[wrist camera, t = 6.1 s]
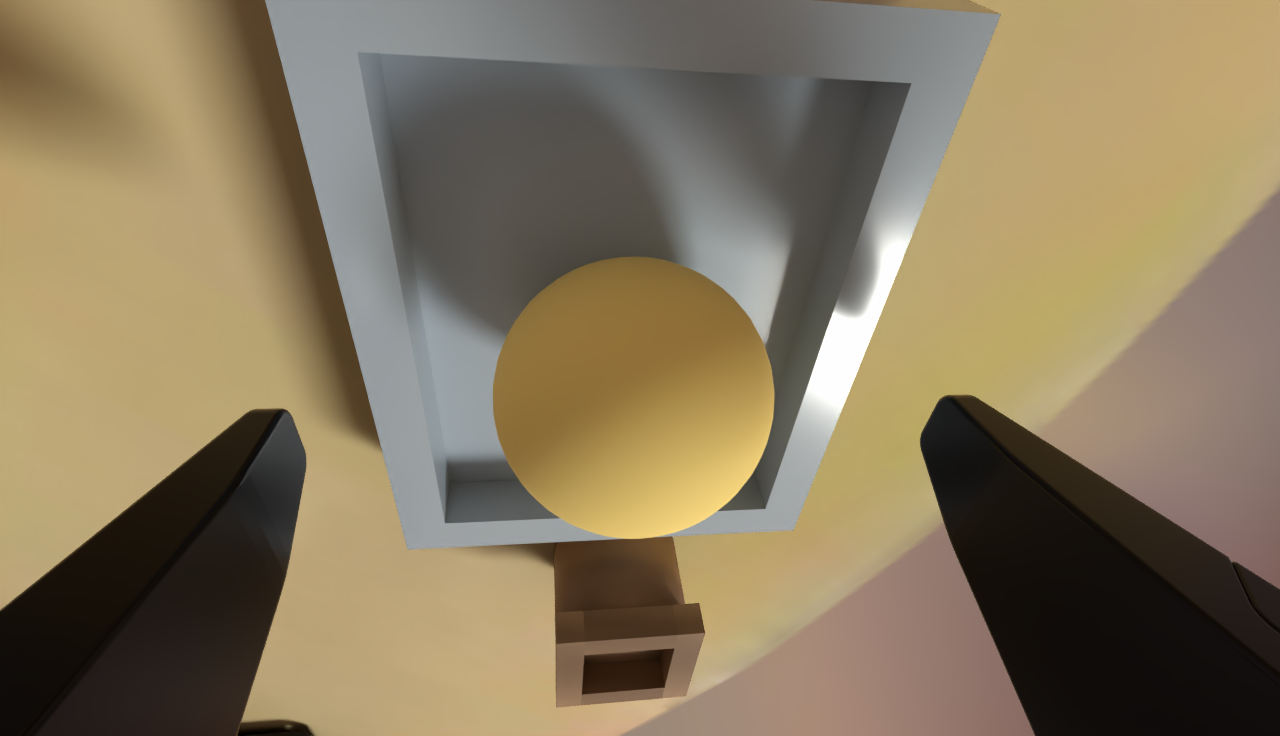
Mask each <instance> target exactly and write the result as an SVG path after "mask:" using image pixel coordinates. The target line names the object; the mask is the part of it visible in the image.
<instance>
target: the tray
mask: <svg viewBox="0 0 1280 736" xmlns="http://www.w3.org/2000/svg"><path fill="white" fill-rule="evenodd" d="M265 2H266V6H267V9H268V13H269V17H270V21H271V25H272V29H273V33H274V36H275V40H276V44H277V48H278V52H279V56H280V60H281V63H282V67H283V71H284V75H285V79H286V83H287V87H288V90H289V94H290V98H291V102H292V106H293V110H294V113H295V117H296V121H297V125H298V129H299V133H300V137H301V140H302V144H303V148H304V152H305V156H306V160H307V164H308V167H309V171H310V175H311V179H312V183H313V187H314V191H315V194H316V198H317V202H318V206H319V210H320V214H321V217H322V221H323V225H324V229H325V233H326V237H327V241H328V244H329V248H330V252H331V256H332V260H333V264H334V268H335V271H336V275H337V279H338V283H339V287H340V291H341V295H342V298H343V302H344V306H345V310H346V314H347V318H348V321H349V325H350V329H351V333H352V337H353V341H354V345H355V348H356V352H357V356H358V360H359V364H360V368H361V372H362V375H363V379H364V383H365V387H366V391H367V395H368V399H369V402H370V406H371V410H372V414H373V418H374V422H375V425H376V429H377V433H378V437H379V441H380V445H381V449H382V452H383V456H384V460H385V464H386V468H387V472H388V476H389V479H390V483H391V487H392V491H393V495H394V499H395V503H396V506H397V510H398V514H399V518H400V522H401V526H402V529H403V533H404V537H405V541H406V545H407V549H408V550H411V549H431V548H451V547H470V546H490V545H510V544H530V543H550V542H570V541H590V540H609V539H624V538H614V537H607V536H603V535H599V534H595V533H592V532H589V531H586V530H583V529H581V528H578V527H576V526H574V525H571V524H569V523H567V522H566V521H564V520H563V519H561V518H559V517H558V516H556V515H555V514H553V513H552V512H550V511H549V510H547V509H546V508H545V507H544V506H543V505H541V504H540V503H539V502H538V501H537V500H536V499H535V498H534V497H533V496H532V495H531V494H530V493H529V492H528V491H527V490H526V488H525V487H524V486H523V485H522V484H521V482H520V481H519V479H518V478H517V476H516V475H515V473H514V472H513V470H512V468H511V467H510V465H509V463H508V461H507V459H506V457H505V454H504V452H503V449H502V447H501V444H500V442H499V439H498V435H497V430H496V426H495V420H494V415H493V382H494V376H495V371H496V365H497V360H498V357H499V354H500V352H501V349H502V346H503V344H504V341H505V339H506V336H507V334H508V333H509V331H510V329H511V327H512V325H513V324H514V322H515V321H516V319H517V318H518V316H519V315H520V314H521V312H522V311H523V310H524V309H525V307H526V306H527V305H528V303H529V302H530V301H531V300H532V299H533V298H534V297H535V296H536V295H537V294H539V293H540V292H541V291H542V290H543V289H545V288H546V287H547V286H549V285H550V284H551V283H553V282H554V281H555V280H557V279H558V278H560V277H561V276H563V275H565V274H567V273H569V272H570V271H572V270H574V269H577V268H579V267H582V266H584V265H587V264H590V263H593V262H597V261H600V260H605V259H611V258H617V257H633V256H636V257H651V258H656V259H662V260H667V261H670V262H673V263H676V264H679V265H682V266H685V267H688V268H690V269H692V270H694V271H696V272H699V273H701V274H702V275H704V276H705V277H707V278H709V279H710V280H712V281H713V282H715V283H716V284H717V285H719V286H720V287H722V288H723V289H724V290H725V291H726V292H727V293H728V294H730V295H731V296H732V297H733V298H734V299H735V300H736V302H737V303H738V304H739V305H740V306H741V307H742V309H743V310H744V311H745V312H746V314H747V315H748V316H749V317H750V319H751V321H752V322H753V324H754V326H755V328H756V330H757V331H758V333H759V335H760V337H761V339H762V340H763V343H764V346H765V349H766V352H767V355H768V358H769V361H770V364H771V369H772V376H773V384H774V412H773V421H772V426H771V430H770V434H769V438H768V441H767V444H766V447H765V450H764V452H763V454H762V457H761V459H760V461H759V463H758V465H757V466H756V468H755V470H754V472H753V473H752V475H751V476H750V478H749V479H748V480H747V482H746V483H745V484H744V485H743V487H742V488H741V489H740V490H739V492H738V493H737V494H736V495H735V496H734V497H733V498H732V499H731V500H730V501H729V502H728V503H727V504H725V505H724V506H723V507H722V508H720V509H719V510H718V511H717V512H715V513H714V514H713V515H711V516H709V517H708V518H706V519H705V520H703V521H701V522H699V523H697V524H696V525H693V526H691V527H689V528H686V529H684V530H681V531H678V532H675V533H671V534H667V535H663V536H658V537H669V536H689V535H709V534H729V533H748V532H768V531H788V530H794V527H795V525H796V522H797V520H798V517H799V515H800V512H801V510H802V507H803V505H804V502H805V500H806V497H807V495H808V492H809V490H810V487H811V485H812V482H813V480H814V477H815V475H816V473H817V470H818V468H819V465H820V463H821V460H822V458H823V455H824V453H825V450H826V448H827V445H828V443H829V440H830V438H831V435H832V433H833V430H834V428H835V425H836V423H837V420H838V418H839V415H840V413H841V410H842V408H843V405H844V403H845V400H846V398H847V395H848V393H849V391H850V388H851V386H852V383H853V381H854V378H855V376H856V373H857V371H858V368H859V366H860V363H861V361H862V358H863V356H864V353H865V351H866V348H867V346H868V343H869V341H870V338H871V336H872V333H873V331H874V328H875V326H876V323H877V321H878V318H879V316H880V313H881V311H882V309H883V306H884V304H885V301H886V299H887V296H888V294H889V291H890V289H891V286H892V284H893V281H894V279H895V276H896V274H897V271H898V269H899V266H900V264H901V261H902V259H903V256H904V254H905V251H906V249H907V246H908V244H909V241H910V239H911V236H912V234H913V231H914V229H915V227H916V224H917V222H918V219H919V217H920V214H921V212H922V209H923V207H924V204H925V202H926V199H927V197H928V194H929V192H930V189H931V187H932V184H933V182H934V179H935V177H936V174H937V172H938V169H939V167H940V164H941V162H942V159H943V157H944V154H945V152H946V149H947V147H948V144H949V142H950V140H951V137H952V135H953V132H954V130H955V127H956V125H957V122H958V120H959V117H960V115H961V112H962V110H963V107H964V105H965V102H966V100H967V97H968V95H969V92H970V90H971V87H972V85H973V82H974V80H975V77H976V75H977V72H978V70H979V67H980V65H981V62H982V60H983V58H984V55H985V53H986V50H987V48H988V45H989V43H990V40H991V38H992V35H993V33H994V30H995V28H996V25H997V23H998V20H999V18H1000V15H1001V14H999V13H997V12H994V11H992V10H990V9H988V8H985V7H983V6H981V5H979V4H976V3H974V2H972V1H970V0H265Z"/></svg>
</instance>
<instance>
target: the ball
mask: <svg viewBox="0 0 1280 736" xmlns="http://www.w3.org/2000/svg"><path fill="white" fill-rule="evenodd" d="M773 412H774V384H773V376H772V369H771V364H770V361H769V358H768V355H767V352H766V349H765V346H764V343H763V340H762V339H761V337H760V335H759V333H758V331H757V330H756V328H755V326H754V324H753V322H752V321H751V319H750V317H749V316H748V315H747V314H746V312H745V311H744V310H743V309H742V307H741V306H740V305H739V304H738V303H737V302H736V300H735V299H734V298H733V297H732V296H731V295H730V294H728V293H727V292H726V291H725V290H724V289H723V288H722V287H720V286H719V285H717V284H716V283H715V282H713V281H712V280H710V279H709V278H707V277H705V276H704V275H702V274H701V273H699V272H696V271H694V270H692V269H690V268H688V267H685V266H682V265H679V264H676V263H673V262H670V261H667V260H662V259H656V258H651V257H636V256H633V257H617V258H611V259H605V260H600V261H597V262H593V263H590V264H587V265H584V266H582V267H579V268H577V269H574V270H572V271H570V272H569V273H567V274H565V275H563V276H561V277H560V278H558V279H557V280H555V281H554V282H553V283H551V284H550V285H549V286H547V287H546V288H545V289H543V290H542V291H541V292H540V293H539V294H537V295H536V296H535V297H534V298H533V299H532V300H531V301H530V302H529V303H528V305H527V306H526V307H525V309H524V310H523V311H522V312H521V314H520V315H519V316H518V318H517V319H516V321H515V322H514V324H513V325H512V327H511V329H510V331H509V333H508V334H507V336H506V339H505V341H504V344H503V346H502V349H501V352H500V354H499V357H498V360H497V365H496V371H495V376H494V382H493V415H494V420H495V426H496V430H497V435H498V439H499V442H500V444H501V447H502V449H503V452H504V454H505V457H506V459H507V461H508V463H509V465H510V467H511V468H512V470H513V472H514V473H515V475H516V476H517V478H518V479H519V481H520V482H521V484H522V485H523V486H524V487H525V488H526V490H527V491H528V492H529V493H530V494H531V495H532V496H533V497H534V498H535V499H536V500H537V501H538V502H539V503H540V504H541V505H543V506H544V507H545V508H546V509H547V510H549V511H550V512H552V513H553V514H555V515H556V516H558V517H559V518H561V519H563V520H564V521H566V522H567V523H569V524H571V525H574V526H576V527H578V528H581V529H583V530H586V531H589V532H592V533H595V534H599V535H603V536H607V537H614V538H624V539H641V538H652V537H658V536H663V535H667V534H671V533H675V532H678V531H681V530H684V529H686V528H689V527H691V526H693V525H696V524H697V523H699V522H701V521H703V520H705V519H706V518H708V517H709V516H711V515H713V514H714V513H715V512H717V511H718V510H719V509H720V508H722V507H723V506H724V505H725V504H727V503H728V502H729V501H730V500H731V499H732V498H733V497H734V496H735V495H736V494H737V493H738V492H739V490H740V489H741V488H742V487H743V485H744V484H745V483H746V482H747V480H748V479H749V478H750V476H751V475H752V473H753V472H754V470H755V468H756V466H757V465H758V463H759V461H760V459H761V457H762V454H763V452H764V450H765V447H766V444H767V441H768V438H769V434H770V430H771V426H772V421H773Z"/></svg>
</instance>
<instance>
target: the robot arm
mask: <svg viewBox="0 0 1280 736" xmlns="http://www.w3.org/2000/svg"><path fill="white" fill-rule="evenodd" d="M920 446H921V451H922V454H923V457H924V461H925V464H926V467H927V470H928V473H929V476H930V480H931V483H932V486H933V489H934V492H935V495H936V499H937V502H938V505H939V508H940V511H941V514H942V518H943V521H944V524H945V527H946V530H947V532H948V535H949V538H950V541H951V543H952V545H953V548H954V551H955V553H956V556H957V558H958V560H959V563H960V565H961V567H962V569H963V572H964V574H965V576H966V579H967V581H968V583H969V586H970V588H971V590H972V592H973V595H974V597H975V599H976V602H977V604H978V606H979V609H980V611H981V613H982V615H983V617H984V620H985V622H986V625H987V627H988V629H989V631H990V634H991V636H992V638H993V641H994V643H995V645H996V647H997V650H998V652H999V654H1000V656H1001V659H1002V661H1003V663H1004V666H1005V668H1006V670H1007V673H1008V675H1009V677H1010V679H1011V682H1012V684H1013V686H1014V689H1015V691H1016V693H1017V696H1018V698H1019V700H1020V702H1021V705H1022V707H1023V709H1024V712H1025V714H1026V716H1027V719H1028V721H1029V723H1030V725H1031V728H1032V730H1033V732H1034V735H1035V736H1280V589H1278V588H1277V587H1275V586H1274V585H1272V584H1270V583H1268V582H1267V581H1265V580H1264V579H1262V578H1261V577H1259V576H1258V575H1256V574H1255V573H1253V572H1251V571H1250V570H1248V569H1247V568H1245V567H1243V566H1242V565H1240V564H1239V563H1237V562H1231V560H1230V559H1229V557H1227V556H1226V555H1224V554H1223V553H1221V552H1220V551H1218V550H1216V549H1215V548H1213V547H1212V546H1210V545H1209V544H1207V543H1205V542H1204V541H1202V540H1201V539H1199V538H1197V537H1196V536H1194V535H1193V534H1191V533H1190V532H1188V531H1186V530H1185V529H1183V528H1182V527H1180V526H1178V525H1177V524H1175V523H1173V522H1172V521H1171V520H1169V519H1167V518H1166V517H1164V516H1163V515H1161V514H1160V513H1158V512H1156V511H1155V510H1153V509H1152V508H1150V507H1148V506H1147V505H1145V504H1144V503H1142V502H1141V501H1139V500H1137V499H1136V498H1134V497H1133V496H1131V495H1130V494H1128V493H1126V492H1125V491H1123V490H1122V489H1120V488H1118V487H1117V486H1115V485H1114V484H1112V483H1111V482H1109V481H1107V480H1106V479H1104V478H1103V477H1101V476H1099V475H1098V474H1096V473H1094V472H1093V471H1091V470H1090V469H1088V468H1087V467H1085V466H1084V465H1082V464H1080V463H1079V462H1077V461H1076V460H1074V459H1072V458H1071V457H1069V456H1068V455H1066V454H1065V453H1063V452H1061V451H1060V450H1058V449H1057V448H1055V447H1054V446H1052V445H1050V444H1049V443H1047V442H1046V441H1044V440H1042V439H1041V438H1039V437H1038V436H1036V435H1035V434H1033V433H1032V432H1030V431H1028V430H1027V429H1025V428H1024V427H1022V426H1020V425H1019V424H1017V423H1016V422H1014V421H1013V420H1011V419H1009V418H1008V417H1006V416H1005V415H1003V414H1002V413H1000V412H998V411H997V410H995V409H994V408H992V407H990V406H989V405H987V404H986V403H984V402H983V401H981V400H979V399H978V398H976V397H974V396H971V395H947V396H944V397H942V398H941V399H940V400H939V401H938V403H937V405H936V406H935V408H934V410H933V412H932V414H931V416H930V418H929V420H928V422H927V423H926V425H925V427H924V429H923V431H922V433H921V438H920ZM305 472H306V453H305V450H304V447H303V444H302V442H301V439H300V436H299V434H298V431H297V428H296V426H295V423H294V420H293V418H292V416H291V414H290V413H289V412H288V411H287V410H285V409H254V410H251V411H249V412H247V413H246V414H245V415H243V416H242V417H241V418H240V419H238V420H237V421H236V422H235V423H233V424H232V425H231V426H230V427H228V428H227V429H226V430H225V431H223V432H222V433H221V434H220V435H218V436H217V437H216V438H215V439H213V440H212V441H211V442H210V443H208V444H207V445H206V446H205V447H203V448H202V449H201V450H200V451H198V452H197V453H196V454H195V455H193V456H192V457H191V458H190V459H188V460H187V461H186V462H185V463H183V464H182V465H181V466H180V467H178V468H177V469H176V470H175V471H173V472H172V473H171V474H170V475H168V476H167V477H166V478H165V479H163V480H162V481H161V482H160V483H158V484H157V485H156V486H155V487H153V488H152V489H151V490H150V491H148V492H147V493H146V494H145V495H143V496H142V497H141V498H140V499H138V500H137V501H136V502H135V503H133V504H132V505H131V506H130V507H128V508H127V509H126V510H125V511H123V512H122V513H121V514H120V515H118V516H117V517H116V518H115V519H114V520H112V521H111V522H110V523H109V524H107V525H106V526H105V527H104V528H102V529H101V530H100V531H99V532H97V533H96V534H95V535H94V536H92V537H91V538H90V539H89V540H87V541H86V542H85V543H84V544H82V545H81V546H80V547H79V548H77V549H76V550H75V551H74V552H72V553H71V554H70V555H69V556H67V557H66V558H65V559H64V560H62V561H61V562H60V563H59V564H57V565H56V566H55V567H54V568H52V569H51V570H50V571H49V572H47V573H46V574H45V575H44V576H42V577H41V578H40V579H39V580H37V581H36V582H35V583H34V584H32V585H31V586H30V587H29V588H27V589H26V590H25V591H24V592H22V593H21V594H20V595H19V596H17V597H16V598H15V599H14V600H12V601H11V602H10V603H9V604H7V605H6V606H5V607H4V608H2V609H1V610H0V736H237V733H238V730H239V727H240V724H241V721H242V717H243V714H244V711H245V708H246V705H247V701H248V698H249V695H250V692H251V689H252V685H253V682H254V679H255V676H256V673H257V669H258V666H259V663H260V660H261V657H262V653H263V650H264V647H265V644H266V641H267V637H268V634H269V631H270V628H271V625H272V621H273V618H274V615H275V612H276V609H277V605H278V602H279V599H280V596H281V592H282V589H283V585H284V582H285V578H286V574H287V569H288V564H289V560H290V554H291V549H292V543H293V538H294V532H295V527H296V521H297V516H298V510H299V505H300V499H301V494H302V488H303V483H304V477H305ZM245 736H313V735H312V734H311V733H308V732H303V731H291V732H280V733H268V734H257V735H245Z"/></svg>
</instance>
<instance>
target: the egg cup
mask: <svg viewBox="0 0 1280 736" xmlns="http://www.w3.org/2000/svg"><path fill="white" fill-rule="evenodd" d="M554 579H555V634H556V707H567V706H578V705H590V704H601V703H613V702H624V701H635V700H647V699H658V698H670V697H681V696H686V694H687V690H688V687H689V684H690V681H691V677H692V674H693V671H694V667H695V664H696V661H697V658H698V654H699V651H700V648H701V645H702V641H703V638H704V635H705V630H704V625H703V620H702V615H701V610H700V605H699V603H694V604H685V602H684V596H683V591H682V585H681V580H680V574H679V569H678V563H677V558H676V552H675V547H674V541H673V538H672V536H669V537H652V538H641V539H609V540H590V541H570V542H558V543H557V545H556V547H555V551H554Z"/></svg>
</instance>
